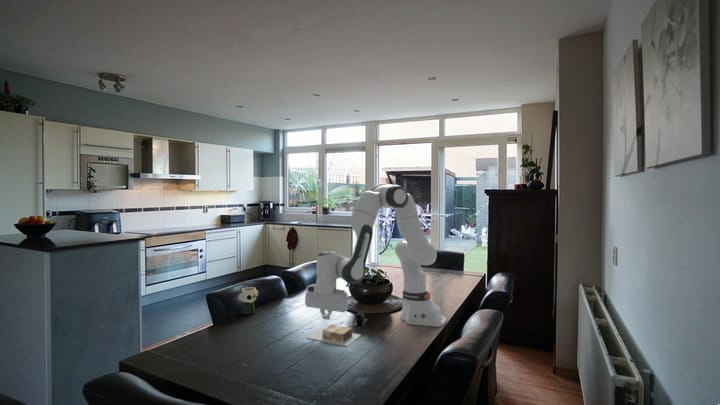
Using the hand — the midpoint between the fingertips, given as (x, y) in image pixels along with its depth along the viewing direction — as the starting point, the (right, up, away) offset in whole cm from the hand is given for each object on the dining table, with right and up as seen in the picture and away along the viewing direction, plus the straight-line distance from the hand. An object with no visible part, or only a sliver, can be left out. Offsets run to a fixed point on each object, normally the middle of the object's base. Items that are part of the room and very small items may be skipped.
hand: (326, 319), depth 164 cm
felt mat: (+3, -8, -1) cm, 8 cm away
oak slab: (0, -5, 0) cm, 5 cm away
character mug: (-43, -7, +30) cm, 53 cm away
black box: (+15, -8, +18) cm, 25 cm away
